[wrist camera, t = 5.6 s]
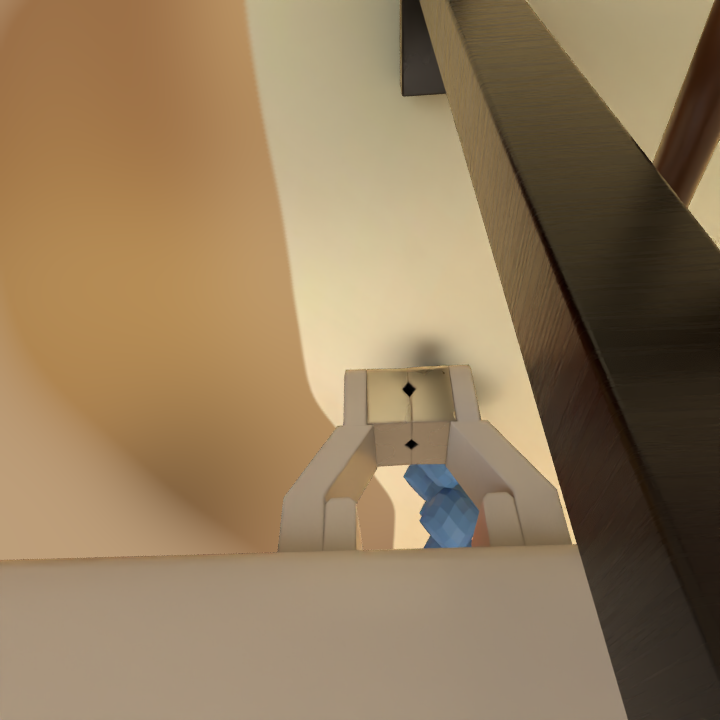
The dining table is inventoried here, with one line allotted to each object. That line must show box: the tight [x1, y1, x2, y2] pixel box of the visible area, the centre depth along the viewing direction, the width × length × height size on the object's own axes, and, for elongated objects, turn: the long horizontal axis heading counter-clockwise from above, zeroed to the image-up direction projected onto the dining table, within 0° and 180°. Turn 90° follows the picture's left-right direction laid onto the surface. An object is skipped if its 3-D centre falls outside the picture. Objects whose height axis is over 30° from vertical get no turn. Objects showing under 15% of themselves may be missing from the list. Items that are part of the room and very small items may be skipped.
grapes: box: [403, 464, 479, 548], centre depth 31 cm, size 12×7×12 cm, turn 7°
